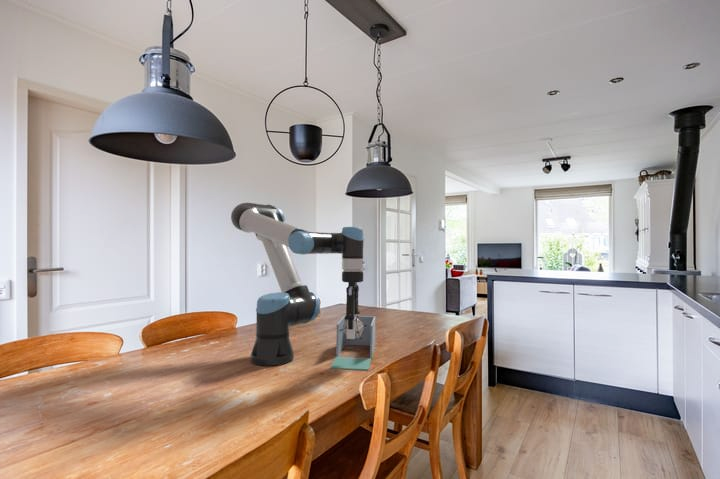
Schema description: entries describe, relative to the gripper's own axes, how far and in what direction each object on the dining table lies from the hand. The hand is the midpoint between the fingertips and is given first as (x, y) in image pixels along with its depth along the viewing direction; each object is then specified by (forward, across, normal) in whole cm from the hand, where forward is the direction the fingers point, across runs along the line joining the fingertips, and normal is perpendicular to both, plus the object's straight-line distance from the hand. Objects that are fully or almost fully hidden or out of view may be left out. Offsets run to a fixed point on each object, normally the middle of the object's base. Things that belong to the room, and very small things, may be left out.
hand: (352, 335), depth 130 cm
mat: (+10, 0, 0) cm, 10 cm away
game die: (+2, 0, 0) cm, 2 cm away
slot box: (+10, +16, 0) cm, 19 cm away
